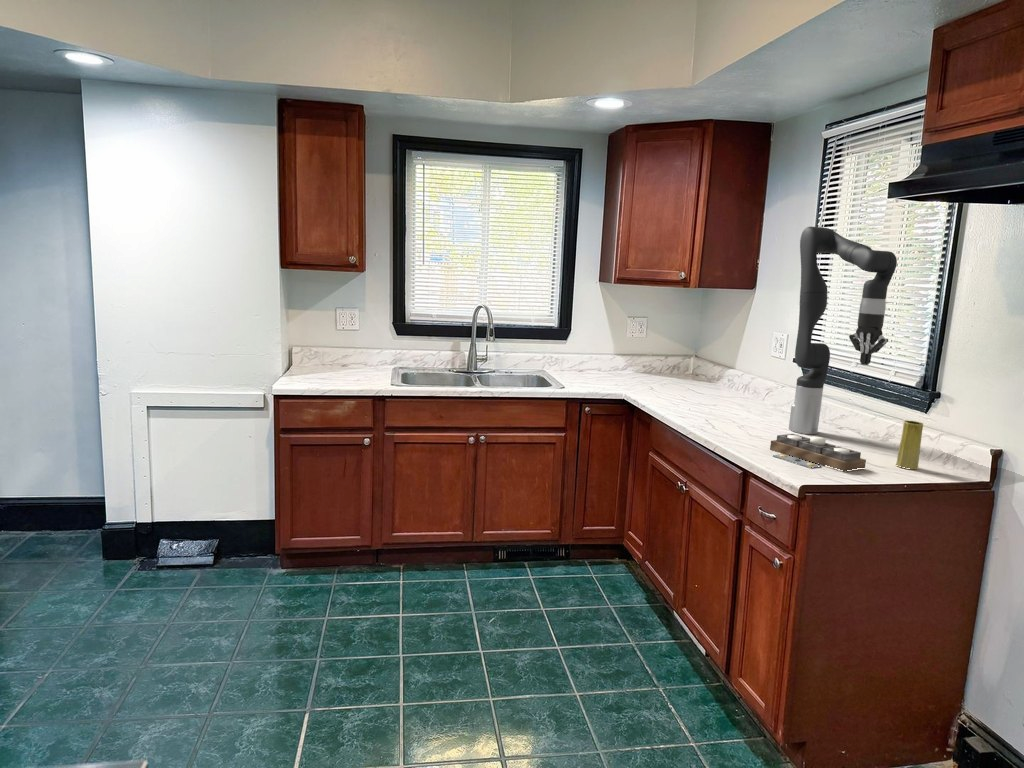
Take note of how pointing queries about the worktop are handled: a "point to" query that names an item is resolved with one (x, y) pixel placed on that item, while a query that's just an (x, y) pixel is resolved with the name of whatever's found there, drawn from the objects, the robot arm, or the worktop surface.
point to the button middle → (817, 441)
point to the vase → (910, 445)
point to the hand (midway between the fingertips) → (864, 364)
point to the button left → (794, 437)
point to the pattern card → (796, 460)
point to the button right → (842, 450)
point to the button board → (818, 453)
